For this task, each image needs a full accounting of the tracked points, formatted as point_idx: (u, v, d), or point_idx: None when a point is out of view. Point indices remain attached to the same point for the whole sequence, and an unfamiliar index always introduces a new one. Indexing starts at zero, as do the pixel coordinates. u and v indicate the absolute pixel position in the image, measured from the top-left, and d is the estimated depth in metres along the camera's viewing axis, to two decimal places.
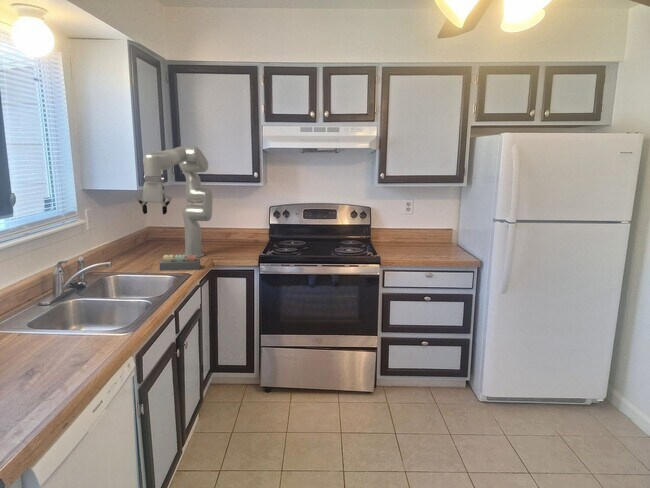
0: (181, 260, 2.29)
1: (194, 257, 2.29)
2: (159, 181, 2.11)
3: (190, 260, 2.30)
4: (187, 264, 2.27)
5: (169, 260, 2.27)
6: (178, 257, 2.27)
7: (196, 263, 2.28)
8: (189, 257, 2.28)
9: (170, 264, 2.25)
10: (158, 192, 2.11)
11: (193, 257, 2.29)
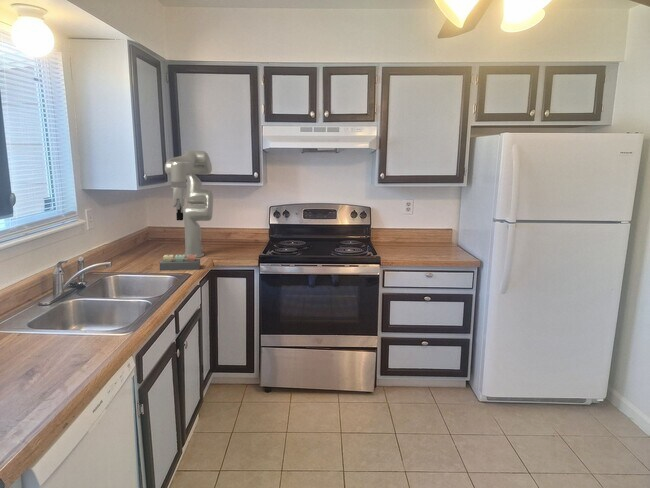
0: (181, 260, 2.29)
1: (194, 257, 2.29)
2: None
3: (190, 260, 2.30)
4: (187, 264, 2.27)
5: (169, 260, 2.27)
6: (178, 257, 2.27)
7: (196, 263, 2.28)
8: (189, 257, 2.28)
9: (170, 264, 2.25)
10: None
11: (193, 257, 2.29)
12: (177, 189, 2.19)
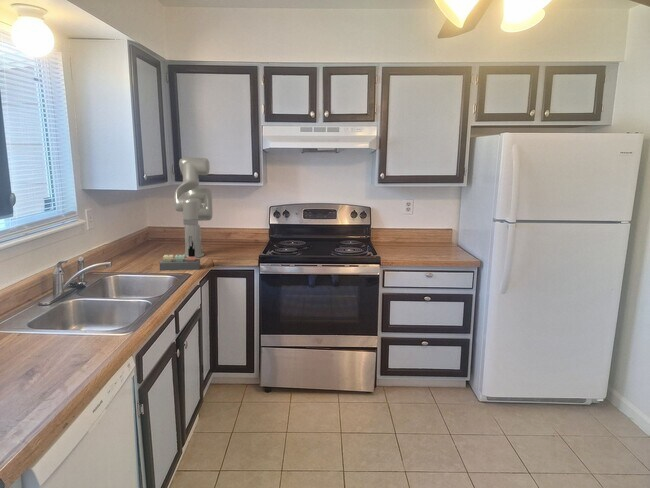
0: (181, 260, 2.29)
1: (194, 258, 2.29)
2: None
3: (190, 261, 2.30)
4: (187, 264, 2.27)
5: (169, 260, 2.27)
6: (178, 257, 2.27)
7: (196, 263, 2.28)
8: (189, 258, 2.28)
9: (170, 264, 2.25)
10: None
11: (193, 258, 2.29)
12: (189, 227, 2.24)
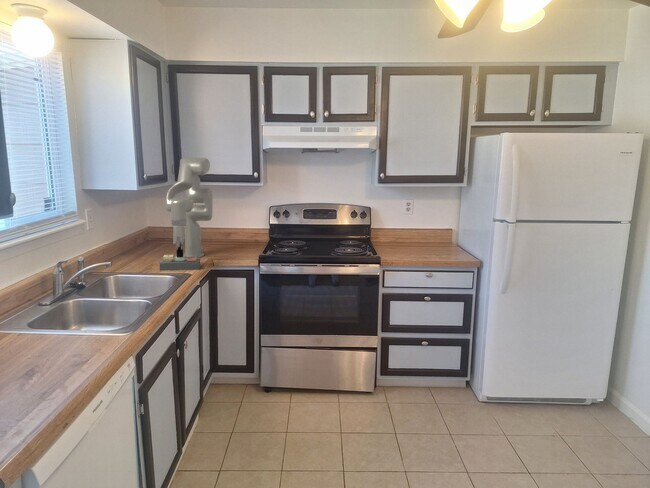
0: None
1: (194, 259, 2.29)
2: None
3: None
4: (187, 264, 2.27)
5: (169, 260, 2.27)
6: (178, 259, 2.27)
7: (196, 263, 2.28)
8: (189, 259, 2.29)
9: (170, 264, 2.25)
10: None
11: (193, 259, 2.29)
12: (177, 227, 2.22)
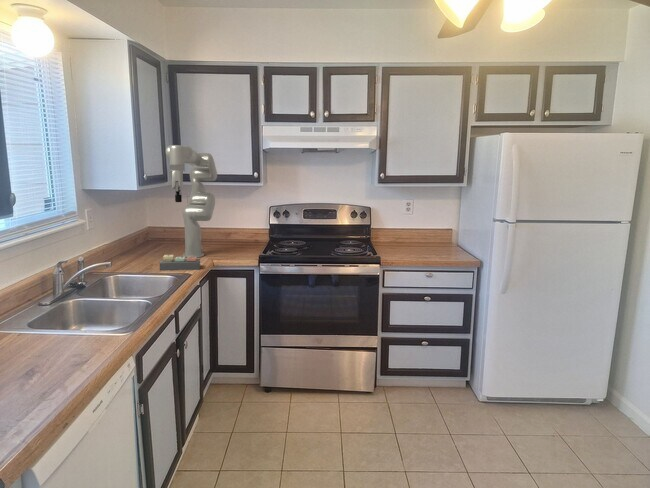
0: None
1: (194, 259, 2.29)
2: None
3: None
4: (187, 264, 2.27)
5: (169, 260, 2.27)
6: (178, 259, 2.27)
7: (196, 263, 2.28)
8: (189, 259, 2.29)
9: (170, 264, 2.25)
10: None
11: (193, 259, 2.29)
12: (176, 172, 2.27)
